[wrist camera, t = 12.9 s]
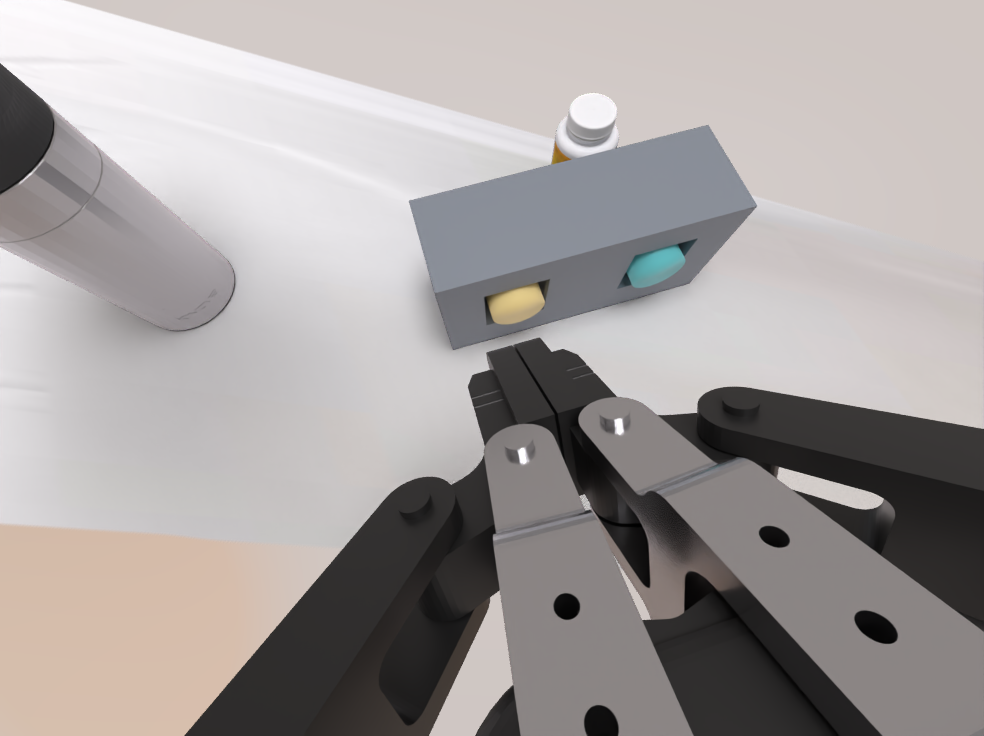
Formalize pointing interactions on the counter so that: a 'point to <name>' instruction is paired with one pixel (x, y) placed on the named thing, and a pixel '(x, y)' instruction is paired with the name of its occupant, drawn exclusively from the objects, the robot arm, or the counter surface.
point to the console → (578, 229)
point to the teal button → (655, 266)
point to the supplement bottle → (586, 128)
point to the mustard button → (516, 304)
